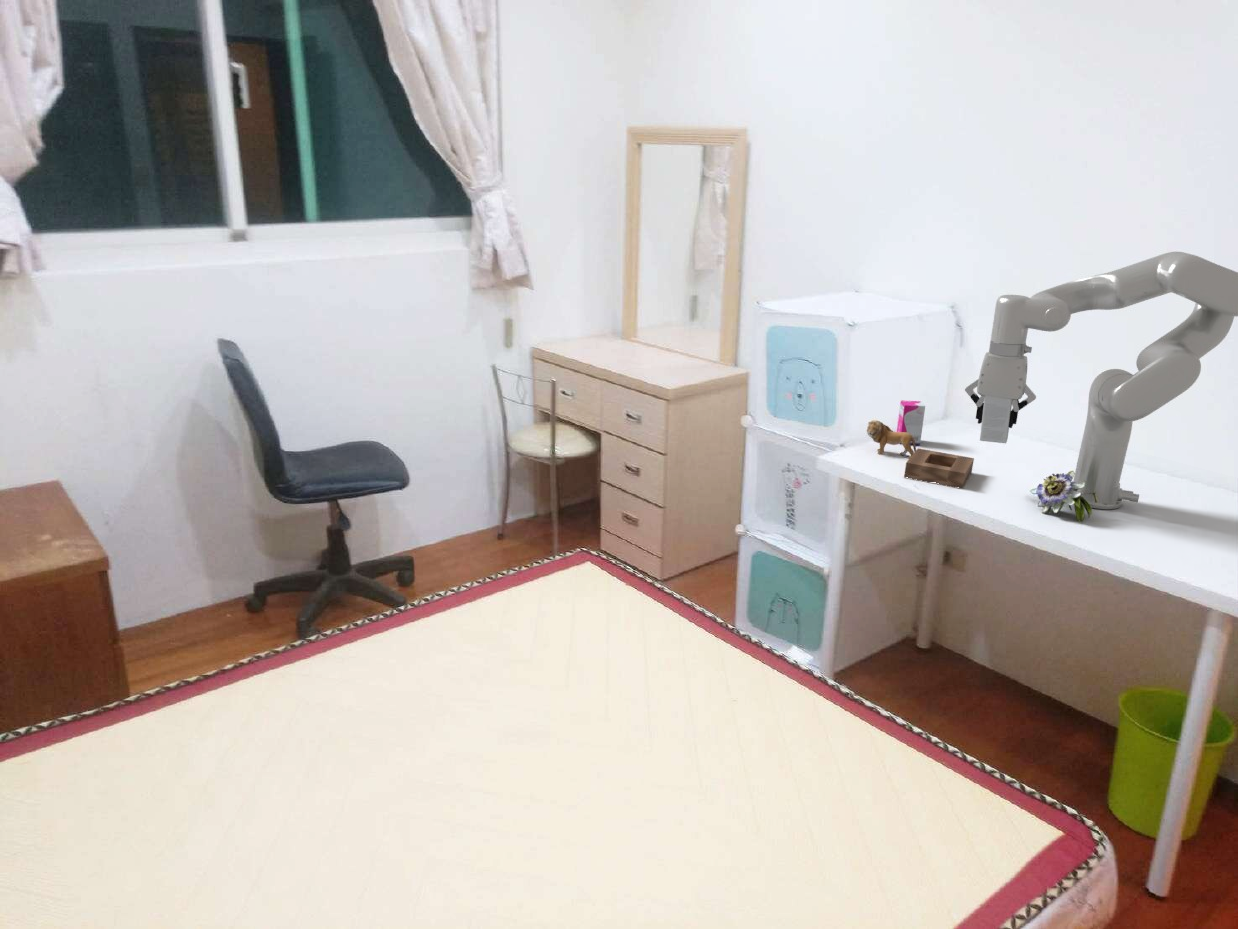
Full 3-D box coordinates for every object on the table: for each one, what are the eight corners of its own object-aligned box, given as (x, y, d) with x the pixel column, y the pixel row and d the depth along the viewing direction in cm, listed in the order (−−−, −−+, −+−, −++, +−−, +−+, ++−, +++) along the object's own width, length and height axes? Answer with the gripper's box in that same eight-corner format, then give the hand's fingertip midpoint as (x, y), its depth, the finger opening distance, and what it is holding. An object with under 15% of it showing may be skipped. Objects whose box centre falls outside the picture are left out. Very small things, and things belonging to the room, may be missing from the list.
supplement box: (915, 439, 257) (921, 400, 253) (920, 445, 251) (926, 406, 248) (895, 438, 257) (900, 399, 254) (899, 444, 252) (904, 404, 248)
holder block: (971, 473, 230) (974, 458, 229) (962, 488, 219) (965, 473, 217) (915, 462, 237) (917, 448, 235) (904, 477, 225) (906, 462, 224)
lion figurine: (863, 454, 242) (867, 421, 239) (864, 448, 247) (868, 416, 244) (920, 461, 238) (925, 428, 235) (920, 455, 243) (925, 423, 240)
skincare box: (1007, 439, 215) (1014, 390, 211) (1006, 444, 211) (1013, 394, 208) (980, 436, 218) (986, 388, 214) (978, 440, 214) (984, 392, 210)
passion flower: (1041, 535, 207) (1018, 487, 209) (1072, 519, 212) (1049, 472, 213) (1080, 525, 197) (1055, 474, 199) (1112, 508, 201) (1087, 460, 203)
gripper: (1049, 350, 206) (1036, 426, 212) (970, 342, 214) (959, 415, 220) (1046, 356, 200) (1033, 433, 206) (964, 348, 208) (954, 422, 214)
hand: (995, 423), depth 213 cm, fingers closed on skincare box, 6 cm apart
